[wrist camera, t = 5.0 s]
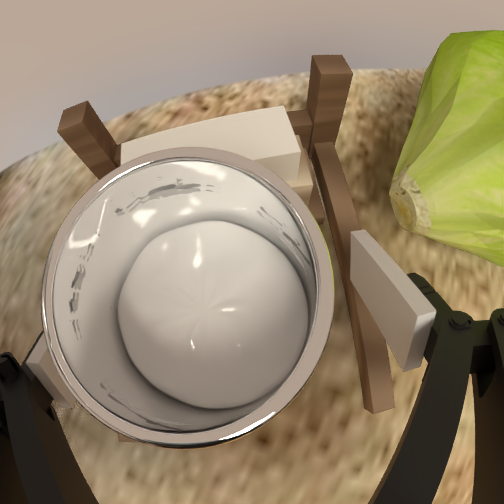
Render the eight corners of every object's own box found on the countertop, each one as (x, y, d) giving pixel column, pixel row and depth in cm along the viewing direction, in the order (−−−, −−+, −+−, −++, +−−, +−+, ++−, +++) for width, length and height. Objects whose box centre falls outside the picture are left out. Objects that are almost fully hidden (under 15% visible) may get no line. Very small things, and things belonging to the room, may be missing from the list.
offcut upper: (297, 180, 18) (301, 151, 16) (139, 215, 18) (120, 192, 16) (282, 136, 20) (283, 105, 17) (138, 168, 19) (121, 143, 17)
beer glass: (227, 260, 22) (156, 103, 7) (312, 316, 20) (405, 240, 6) (169, 340, 20) (-1, 310, 6) (251, 401, 18) (206, 517, 4)
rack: (387, 401, 18) (456, 427, 9) (128, 434, 18) (55, 469, 9) (325, 137, 24) (342, 54, 16) (114, 175, 24) (63, 110, 16)
